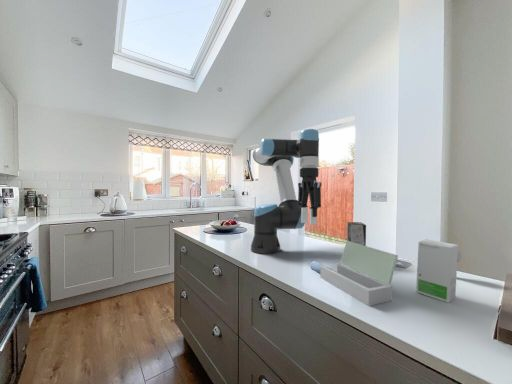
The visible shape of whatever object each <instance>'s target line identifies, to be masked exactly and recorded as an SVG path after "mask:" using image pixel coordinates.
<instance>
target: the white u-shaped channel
mask: <svg viewBox="0 0 512 384" xmlns="http://www.w3.org/2000/svg"><path fill="white" fill-rule="evenodd" d="M325 266H326V265H324V266H321V270H320V273H319V277H320V278H321V279H322V280H324V281H326V282H327V283H329V284H330V285H333V287H336V288H337V289H340V290H341V291H343V292H344V293H346V294H348V295H349V296H350V297H353V298H355V299H356V300H358V301H360V302H362V303H363V304H365V305H366V306H373V305H379V304H383V303H388V302H391V301H392V300H393V299H392V298H393V297H392V295H393V294H392V293H393V286H391V284H390V285H389V284H387V283H384V282H382V281H380V280H378V279H375V278H373V277H371V276H368V275H366V274H364V273H361V272H359V271H357V270H355V269H352V268H350V267H348V266H345V265H343V264H341V263H337V264H336V271H334V269H332V268H330V267H328V266H326V267H325ZM327 267H328V268H327ZM329 268H330V269H329ZM331 269H332V270H331Z"/></svg>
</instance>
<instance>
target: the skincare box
mask: <svg viewBox="0 0 512 384" xmlns="http://www.w3.org/2000/svg"><path fill="white" fill-rule="evenodd" d="M417 246H418V249H417V250H418V252H417V269H416V284H415V286H416V287H415V288H416V290H415V291H416V293H419V294H422V295H425V296H426V297H427V296H428V297H430V298H433V299H436V300H439V301H442V302H445V303H448V304H450V302H451V301H452V300H453V299H454V298H456V289H457V288H456V287H457V273H458V272H457V270H458V263H457V256H458V250H459V245H458V244H455V243H450V242H444V241H439V240H433V239H428V238H426V239H423V240H420V241H418V245H417Z"/></svg>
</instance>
